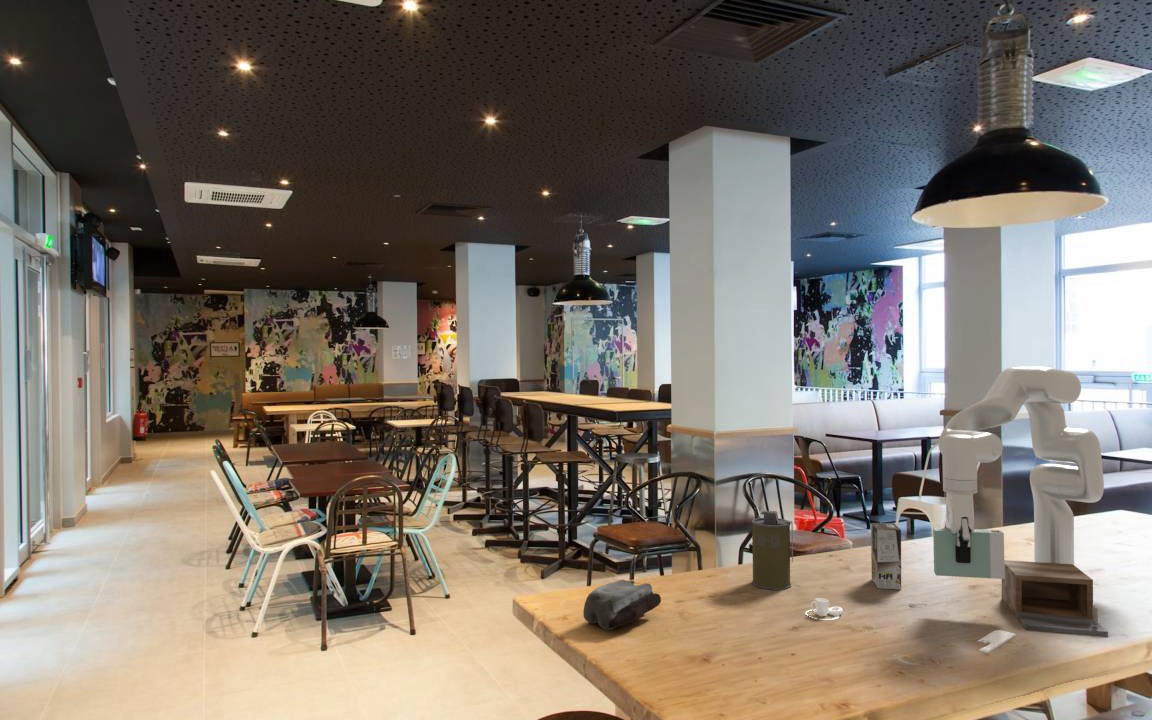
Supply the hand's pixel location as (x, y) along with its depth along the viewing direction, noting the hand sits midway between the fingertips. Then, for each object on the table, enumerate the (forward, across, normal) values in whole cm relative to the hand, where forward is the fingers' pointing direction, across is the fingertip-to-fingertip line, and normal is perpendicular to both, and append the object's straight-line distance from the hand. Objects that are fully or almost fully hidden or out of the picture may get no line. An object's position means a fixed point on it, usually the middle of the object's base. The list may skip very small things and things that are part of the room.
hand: (961, 559), depth 186 cm
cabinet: (+13, -2, +19) cm, 23 cm away
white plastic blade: (+13, +20, +2) cm, 24 cm away
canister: (+13, -11, -46) cm, 49 cm away
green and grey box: (+4, 0, +2) cm, 4 cm away
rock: (+11, +28, -78) cm, 84 cm away
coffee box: (+13, -19, -16) cm, 28 cm away
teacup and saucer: (+13, +13, -30) cm, 35 cm away
